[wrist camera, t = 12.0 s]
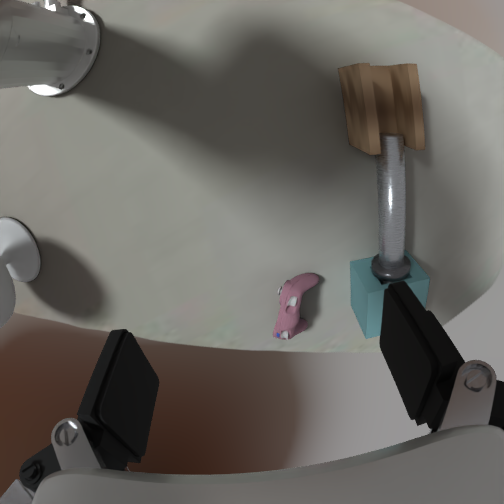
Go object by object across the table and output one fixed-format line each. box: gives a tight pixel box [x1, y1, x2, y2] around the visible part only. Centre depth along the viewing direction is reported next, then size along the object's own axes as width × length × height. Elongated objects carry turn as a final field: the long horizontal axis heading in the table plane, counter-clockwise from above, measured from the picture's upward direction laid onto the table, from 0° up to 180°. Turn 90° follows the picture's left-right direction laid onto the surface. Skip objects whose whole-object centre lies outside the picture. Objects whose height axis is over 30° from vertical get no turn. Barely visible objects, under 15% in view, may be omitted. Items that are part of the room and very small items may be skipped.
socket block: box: [350, 250, 430, 339], centre depth 40 cm, size 8×9×8 cm
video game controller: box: [273, 273, 319, 339], centre depth 43 cm, size 10×5×7 cm, turn 175°
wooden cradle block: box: [338, 63, 425, 155], centre depth 29 cm, size 10×7×7 cm
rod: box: [371, 133, 411, 285], centre depth 36 cm, size 26×5×5 cm, turn 11°
